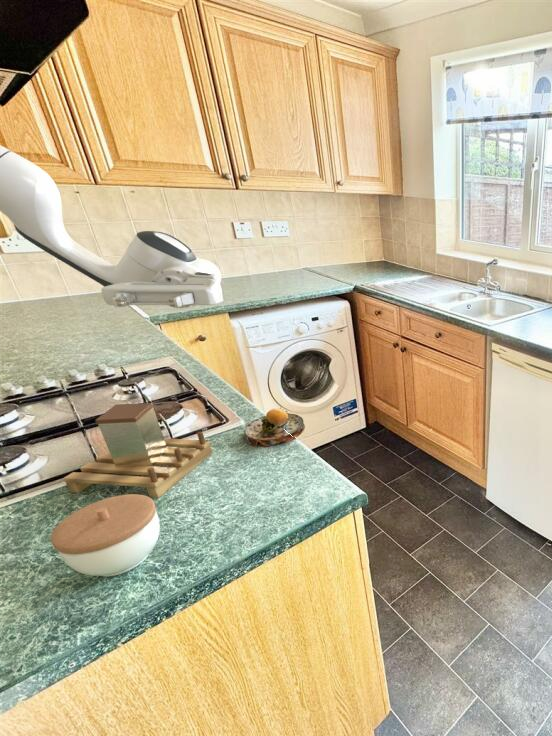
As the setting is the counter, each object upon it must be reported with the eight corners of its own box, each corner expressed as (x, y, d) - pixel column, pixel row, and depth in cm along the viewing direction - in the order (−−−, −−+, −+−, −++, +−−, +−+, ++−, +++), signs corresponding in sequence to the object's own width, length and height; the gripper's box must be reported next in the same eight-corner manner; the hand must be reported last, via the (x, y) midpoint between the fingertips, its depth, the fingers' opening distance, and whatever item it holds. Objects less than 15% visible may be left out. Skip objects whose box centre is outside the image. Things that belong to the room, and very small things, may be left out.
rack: (68, 492, 73) (56, 466, 71) (136, 447, 86) (127, 424, 84) (159, 498, 73) (150, 472, 71) (213, 453, 86) (207, 430, 84)
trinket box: (60, 567, 60) (32, 516, 56) (150, 522, 68) (131, 476, 64) (90, 604, 55) (62, 552, 51) (183, 551, 63) (165, 503, 59)
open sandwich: (286, 414, 102) (281, 386, 98) (316, 430, 96) (311, 401, 93) (234, 434, 92) (226, 405, 89) (263, 453, 87) (256, 422, 83)
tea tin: (114, 468, 75) (94, 420, 71) (133, 450, 80) (115, 404, 76) (152, 465, 77) (135, 418, 72) (168, 447, 82) (152, 402, 77)
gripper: (120, 272, 92) (76, 286, 80) (225, 274, 96) (199, 287, 84) (129, 301, 94) (88, 318, 82) (231, 301, 99) (206, 317, 87)
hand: (145, 302), depth 83 cm, fingers open, 8 cm apart
